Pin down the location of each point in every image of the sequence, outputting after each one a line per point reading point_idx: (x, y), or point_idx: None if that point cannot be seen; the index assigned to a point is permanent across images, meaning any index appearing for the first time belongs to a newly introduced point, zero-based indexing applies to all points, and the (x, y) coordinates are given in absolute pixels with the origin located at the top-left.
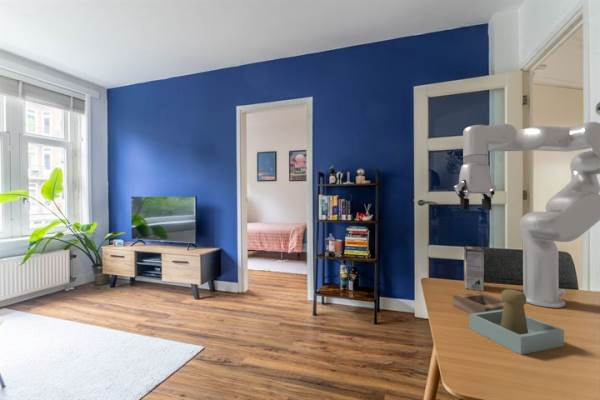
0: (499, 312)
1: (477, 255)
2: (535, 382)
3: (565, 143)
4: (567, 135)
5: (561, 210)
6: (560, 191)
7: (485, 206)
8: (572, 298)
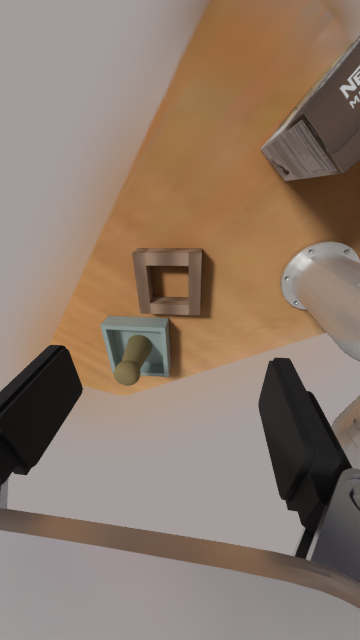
0: (145, 330)
1: (318, 158)
2: (98, 381)
3: None
4: None
5: None
6: None
7: (269, 403)
8: None
